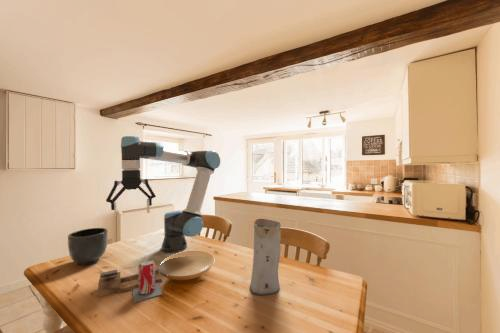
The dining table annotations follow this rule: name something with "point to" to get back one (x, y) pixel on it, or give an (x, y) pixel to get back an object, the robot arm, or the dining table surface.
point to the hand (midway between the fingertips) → (132, 214)
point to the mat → (141, 297)
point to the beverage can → (146, 276)
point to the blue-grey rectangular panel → (109, 273)
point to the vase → (266, 257)
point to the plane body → (118, 283)
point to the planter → (87, 245)
